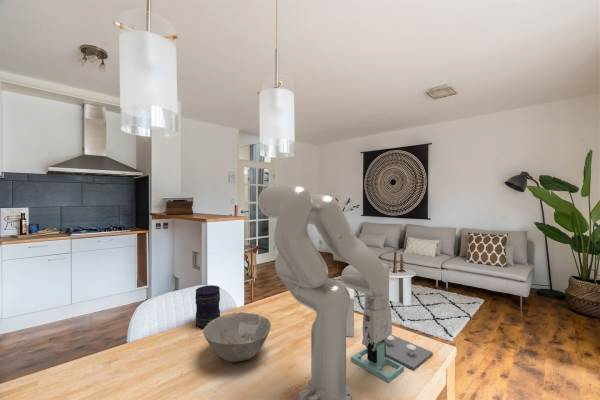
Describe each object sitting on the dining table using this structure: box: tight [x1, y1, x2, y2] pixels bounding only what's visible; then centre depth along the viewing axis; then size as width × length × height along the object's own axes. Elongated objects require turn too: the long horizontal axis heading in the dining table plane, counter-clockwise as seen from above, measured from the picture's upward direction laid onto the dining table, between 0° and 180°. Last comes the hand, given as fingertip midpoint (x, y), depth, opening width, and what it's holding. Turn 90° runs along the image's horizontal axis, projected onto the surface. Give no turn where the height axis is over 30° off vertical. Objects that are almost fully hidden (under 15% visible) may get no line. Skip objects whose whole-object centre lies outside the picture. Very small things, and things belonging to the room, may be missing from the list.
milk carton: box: [342, 283, 355, 338], centre depth 110 cm, size 7×7×19 cm
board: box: [386, 334, 434, 372], centre depth 96 cm, size 13×16×4 cm
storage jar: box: [194, 285, 221, 330], centre depth 117 cm, size 10×10×15 cm
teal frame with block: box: [350, 341, 405, 383], centre depth 88 cm, size 9×14×7 cm, turn 40°
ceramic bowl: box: [202, 312, 272, 363], centre depth 94 cm, size 22×23×10 cm
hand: (376, 357), depth 89 cm, fingers closed on teal frame with block, 4 cm apart
